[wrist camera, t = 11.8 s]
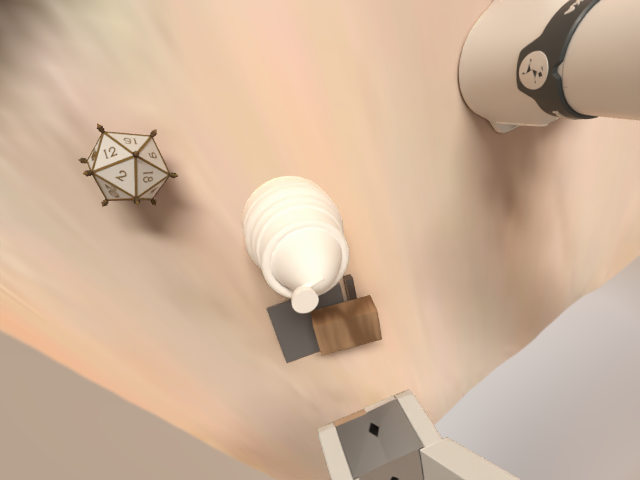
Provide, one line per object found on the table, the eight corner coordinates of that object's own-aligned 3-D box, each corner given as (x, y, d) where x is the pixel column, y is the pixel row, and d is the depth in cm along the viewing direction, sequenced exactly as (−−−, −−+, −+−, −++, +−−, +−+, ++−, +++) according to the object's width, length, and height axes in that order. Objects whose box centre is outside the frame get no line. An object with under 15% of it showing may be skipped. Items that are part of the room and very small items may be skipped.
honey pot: (273, 276, 51) (297, 365, 35) (222, 208, 44) (224, 279, 29) (346, 231, 51) (403, 300, 35) (306, 157, 44) (353, 200, 29)
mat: (338, 283, 54) (339, 284, 54) (351, 337, 60) (352, 338, 60) (266, 308, 53) (267, 309, 52) (286, 361, 58) (286, 362, 58)
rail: (350, 274, 54) (352, 278, 53) (363, 337, 61) (365, 341, 60) (343, 276, 54) (345, 280, 53) (356, 339, 60) (359, 344, 59)
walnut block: (377, 310, 51) (313, 327, 51) (381, 339, 54) (321, 355, 54) (370, 295, 55) (310, 310, 55) (374, 322, 58) (317, 337, 57)
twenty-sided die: (157, 165, 43) (175, 228, 39) (76, 161, 38) (87, 234, 34) (168, 107, 37) (190, 175, 33) (73, 94, 32) (85, 172, 28)
